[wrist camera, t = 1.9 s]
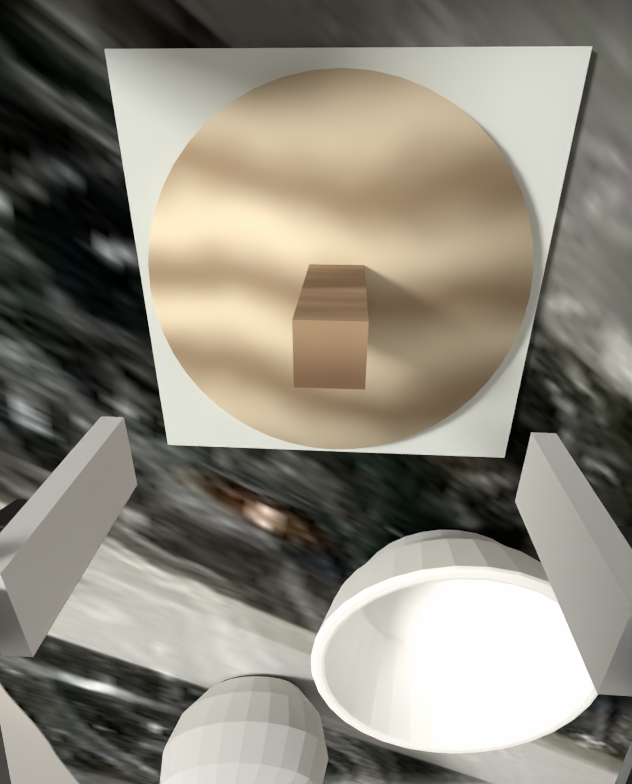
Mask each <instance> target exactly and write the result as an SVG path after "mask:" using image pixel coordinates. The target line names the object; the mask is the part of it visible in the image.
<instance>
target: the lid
mask: <svg viewBox="0 0 632 784" xmlns="http://www.w3.org/2000/svg"><path fill="white" fill-rule="evenodd" d="M148 267H149V278H150V289H151V293H152V298H153V302H154V307H155V311H156V314H157V317H158V320H159V323H160V325H161V328H162V331H163V334H164V336H165V338H166V340H167V342H168V344H169V346H170V348H171V350H172V352H173V354H174V355H175V357H176V358H177V360H178V361H179V363H180V364H181V366H182V367H183V369H184V370H185V372H186V373H187V374H188V376H189V377H190V378H191V379H192V380H193V382H194V383H195V384H196V385H197V386H198V387H199V389H200V390H201V391H202V392H203V393H205V394H206V395H207V396H208V397H209V398H210V399H211V400H212V401H213V402H214V403H215V404H216V405H218V406H219V407H220V408H222V409H223V410H224V411H226V412H227V413H228V414H230V415H231V416H232V417H234V418H235V419H237V420H239V421H241V422H242V423H244V424H246V425H247V426H249V427H251V428H253V429H255V430H257V431H259V432H262V433H264V434H266V435H268V436H271V437H274V438H277V439H280V440H283V441H286V442H289V443H293V444H298V445H303V446H308V447H314V448H325V449H357V448H365V447H373V446H378V445H383V444H387V443H391V442H395V441H398V440H401V439H404V438H406V437H409V436H412V435H415V434H417V433H419V432H421V431H423V430H425V429H427V428H429V427H431V426H433V425H436V424H437V423H439V422H440V421H442V420H443V419H445V418H447V417H448V416H450V415H451V414H453V413H454V412H456V411H457V410H458V409H459V408H461V407H462V406H463V405H464V404H465V403H467V402H468V401H469V400H470V399H471V398H473V397H474V396H475V394H476V393H477V392H478V391H479V390H480V389H481V388H482V387H483V386H484V385H485V384H486V383H487V382H488V381H489V379H490V378H491V377H492V376H493V374H494V373H495V372H496V370H497V369H498V368H499V366H500V365H501V364H502V362H503V360H504V359H505V357H506V355H507V353H508V352H509V350H510V348H511V346H512V345H513V343H514V341H515V338H516V336H517V334H518V331H519V329H520V326H521V324H522V322H523V319H524V316H525V312H526V308H527V304H528V301H529V297H530V291H531V284H532V276H533V239H532V232H531V225H530V218H529V215H528V211H527V208H526V205H525V201H524V198H523V194H522V191H521V189H520V187H519V185H518V183H517V180H516V178H515V176H514V174H513V172H512V169H511V167H510V166H509V164H508V163H507V161H506V159H505V158H504V156H503V155H502V153H501V152H500V150H499V149H498V147H497V146H496V144H495V143H494V142H493V141H492V139H491V138H490V137H489V136H488V135H487V134H486V133H485V132H484V130H483V129H482V128H481V127H480V126H479V125H478V124H477V123H476V121H474V120H473V119H472V118H471V117H469V116H468V115H467V114H466V113H465V112H463V111H462V110H461V109H460V108H459V107H457V106H456V105H455V104H454V103H452V102H451V101H449V100H447V99H446V98H444V97H442V96H441V95H439V94H437V93H435V92H434V91H432V90H430V89H429V88H427V87H424V86H422V85H419V84H417V83H414V82H412V81H409V80H407V79H404V78H402V77H399V76H395V75H390V74H386V73H382V72H377V71H373V70H365V69H351V68H331V69H319V70H309V71H305V72H301V73H297V74H293V75H289V76H284V77H281V78H278V79H276V80H274V81H271V82H269V83H266V84H264V85H261V86H259V87H256V88H254V89H252V90H251V91H249V92H247V93H246V94H244V95H242V96H241V97H239V98H237V99H236V100H234V101H232V102H231V103H229V104H228V105H227V106H225V107H224V108H223V109H222V110H221V111H219V112H218V113H217V114H216V115H215V116H213V117H212V118H211V119H210V120H208V121H207V122H206V123H205V125H204V126H203V127H202V128H201V129H200V130H199V131H198V132H197V133H196V134H195V136H194V137H193V138H192V139H191V140H190V141H189V142H188V144H187V145H186V147H185V148H184V150H183V151H182V153H181V154H180V156H179V157H178V159H177V160H176V162H175V163H174V165H173V167H172V169H171V171H170V173H169V175H168V177H167V179H166V181H165V183H164V185H163V187H162V190H161V193H160V196H159V199H158V202H157V205H156V208H155V211H154V215H153V220H152V226H151V232H150V237H149V257H148Z"/></svg>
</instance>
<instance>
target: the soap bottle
mask: <svg viewBox="0 0 632 784" xmlns="http://www.w3.org/2000/svg"><path fill="white" fill-rule="evenodd" d="M327 762H328V754H327V748H326V743H325V738H324V732H323V727H322V722H321V717H320V714H319V712H318V711H317V710H316V709H315V707H314V706H313V705H312V704H311V702H310V701H309V700H308V699H307V698H306V697H305V695H304V694H303V693H302V692H301V691H300V690H299V688H298V687H297V686H295V685H294V684H292V683H291V682H289V681H286V680H282V679H279V678H272V677H261V676H250V677H239V678H234V679H229V680H226V681H223V682H220V683H218V684H216V685H214V686H212V687H211V688H210V689H209V690H208V691H206V692H205V693H204V694H203V695H202V696H201V697H200V698H199V699H198V700H197V701H196V702H195V703H194V704H192V705H191V706H190V707H189V708H188V709H187V710H186V711H185V712H184V713H183V714H182V716H181V718H180V719H179V721H178V723H177V725H176V727H175V729H174V731H173V733H172V735H171V737H170V738H169V740H168V742H167V744H166V746H165V749H164V752H163V758H162V767H161V777H160V784H322V783H323V779H324V775H325V771H326V766H327Z"/></svg>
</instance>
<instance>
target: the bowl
mask: <svg viewBox="0 0 632 784" xmlns="http://www.w3.org/2000/svg"><path fill="white" fill-rule="evenodd" d="M311 668H312V676H313V678H314V681H315V684H316V687H317V689H318V692H319V693H320V695H321V696H322V698H323V699H324V701H325V702H326V703H327V705H328V706H329V708H330V709H331V710H333V711H334V712H335V713H336V714H337V715H338V716H339V717H340V718H341V719H342V720H343V721H345V722H346V723H348V724H350V725H351V726H353V727H354V728H356V729H357V730H359V731H361V732H362V733H365V734H367V735H369V736H371V737H374V738H376V739H378V740H381V741H383V742H386V743H390V744H393V745H397V746H400V747H404V748H408V749H414V750H420V751H426V752H436V753H454V754H458V753H477V752H486V751H492V750H499V749H505V748H509V747H513V746H516V745H520V744H523V743H527V742H531V741H533V740H535V739H538V738H540V737H543V736H545V735H547V734H550V733H552V732H554V731H556V730H557V729H559V728H561V727H562V726H564V725H566V724H567V723H569V722H571V721H572V720H574V719H575V718H576V717H577V716H578V715H579V714H581V713H582V712H583V711H584V710H585V709H586V708H587V707H589V706H590V705H591V703H592V702H593V700H594V699H595V698H596V696H597V695H598V694H597V692H596V690H595V688H594V685H593V683H592V680H591V678H590V676H589V673H588V671H587V669H586V666H585V664H584V662H583V659H582V657H581V655H580V652H579V650H578V648H577V645H576V643H575V641H574V638H573V636H572V634H571V631H570V629H569V627H568V624H567V622H566V620H565V617H564V615H563V613H562V610H561V608H560V605H559V603H558V601H557V598H556V596H555V594H554V591H553V589H552V587H551V584H550V582H549V580H548V577H547V575H546V573H545V570H544V568H543V566H542V563H541V562H539V561H537V560H535V559H534V558H532V557H530V556H528V555H526V554H525V553H523V552H521V551H518V550H515V549H512V548H510V547H507V546H504V545H502V544H500V543H499V542H497V541H495V540H493V539H491V538H488V537H485V536H483V535H480V534H477V533H472V532H466V531H461V530H434V531H425V532H420V533H416V534H413V535H409V536H405V537H403V538H401V539H399V540H396V541H394V542H392V543H390V544H388V545H387V546H385V547H384V548H383V549H381V550H380V551H378V552H377V553H376V554H375V555H374V556H373V557H372V558H371V559H370V560H369V561H368V562H367V563H366V564H365V565H363V566H362V567H360V568H359V569H357V570H356V571H355V572H354V573H353V574H352V575H351V576H350V577H349V578H348V579H347V580H346V581H345V583H344V584H343V585H342V587H341V588H340V590H339V592H338V593H337V595H336V597H335V598H334V600H333V602H332V605H331V607H330V609H329V611H328V613H327V615H326V617H325V619H324V621H323V623H322V625H321V628H320V630H319V632H318V634H317V636H316V638H315V642H314V646H313V650H312V654H311Z"/></svg>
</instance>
